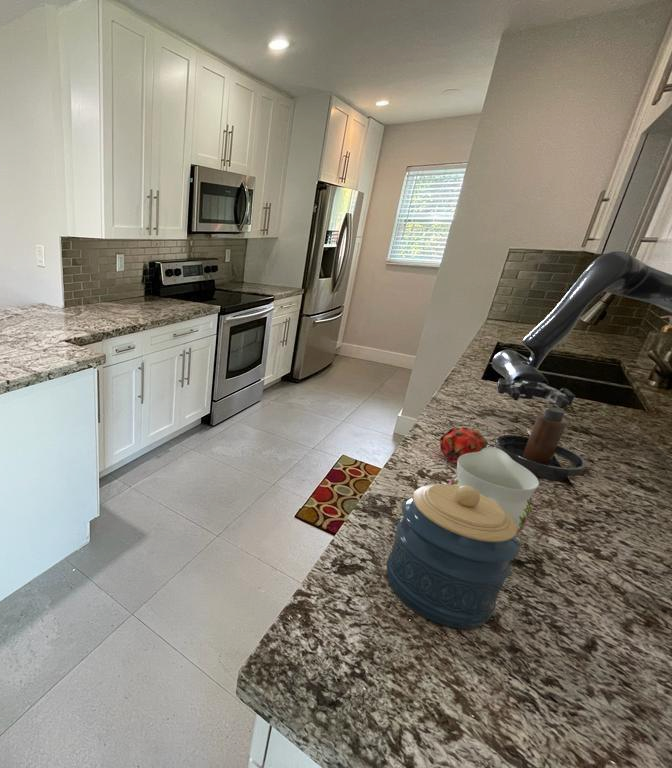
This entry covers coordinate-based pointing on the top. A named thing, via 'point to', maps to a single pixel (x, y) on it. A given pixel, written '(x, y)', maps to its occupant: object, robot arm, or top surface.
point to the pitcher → (498, 481)
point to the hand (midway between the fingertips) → (540, 400)
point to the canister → (452, 555)
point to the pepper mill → (545, 436)
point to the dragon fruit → (461, 443)
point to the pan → (554, 471)
